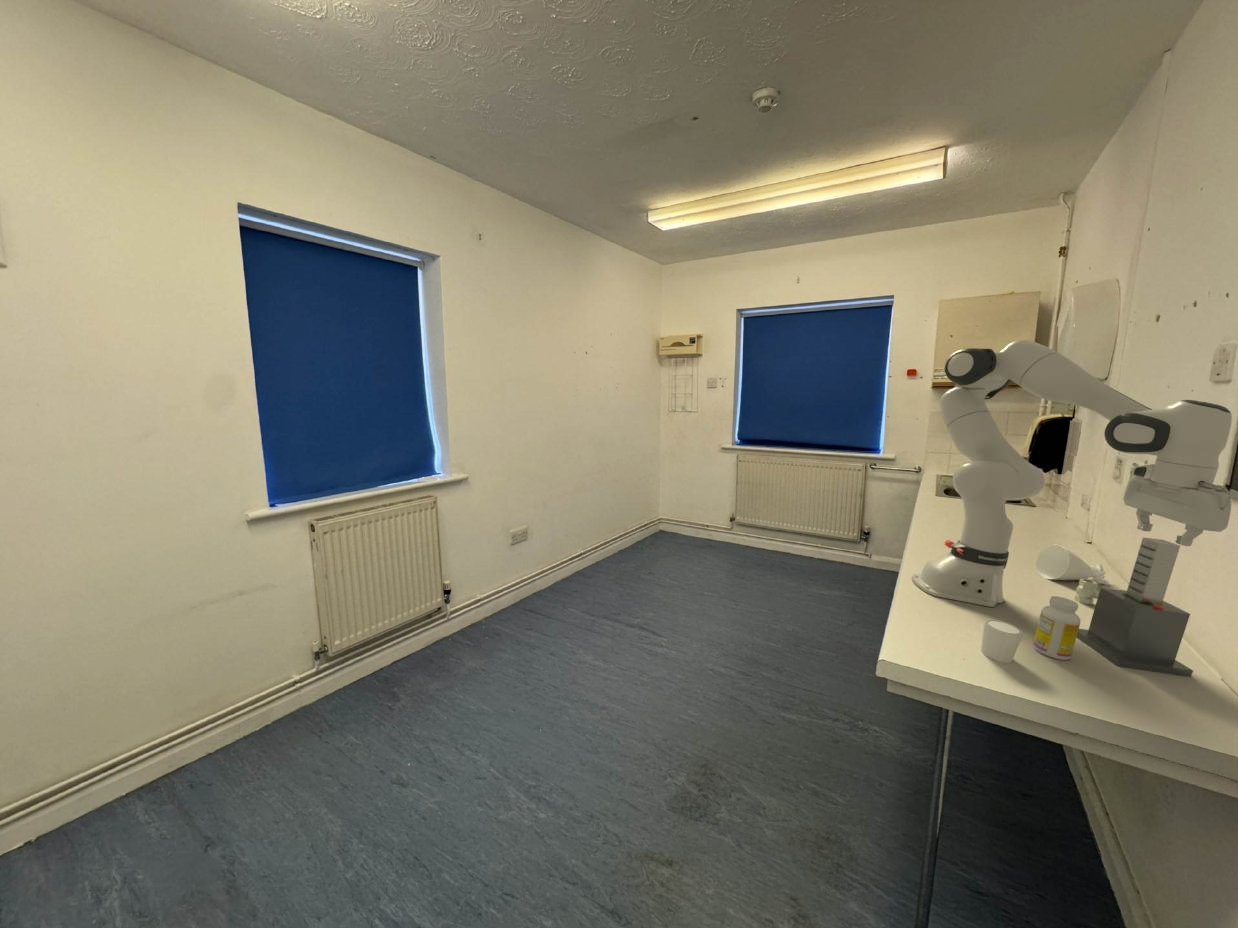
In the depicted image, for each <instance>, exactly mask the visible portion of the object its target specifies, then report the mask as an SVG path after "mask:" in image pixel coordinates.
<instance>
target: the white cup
mask: <svg viewBox="0 0 1238 928" xmlns="http://www.w3.org/2000/svg"><path fill="white" fill-rule="evenodd" d="M982 627H983V628H982V636H981V647H980V652H981V653H982V654H983V655H984V656H986V657H987V658H989V659H991V660H993V661H996V662H999V663H1004V664H1005V663H1006V664H1009V663H1012V662H1013V660H1014V657H1015V654H1016V652H1017V650H1018V647H1019V645H1020V642H1021V641H1022V638H1023V635H1024V632H1023V630H1022V629H1021V628H1018V627H1017V626H1016V625H1013V624H1011V623H1009V622H1005V621H1002V620H998V619H993V618H992V619H991V618H988V619H985V620H984V621H983V626H982Z"/></svg>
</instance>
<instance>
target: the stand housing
mask: <svg viewBox="0 0 1238 928" xmlns="http://www.w3.org/2000/svg"><path fill="white" fill-rule="evenodd" d="M1099 591H1100V592H1099V595H1098V599H1096V603H1095V606H1094V610H1093V613H1092V616H1091V620H1090V624H1089V626H1088V629H1085V628H1079V629H1078V633H1077V637H1076V639H1078V640H1080V641H1081V642H1082V643H1084V644H1086V645H1087V646H1088V647H1090V649H1093V650H1094V651H1095V652H1096V653H1098V654H1100V655H1101V656H1102V657H1104V658H1105V659H1107V660H1108V661H1109V662H1111V663H1112V664H1113V665H1115V666H1117V667H1122V668H1128V669H1134V670H1141V671H1149V672H1155V673H1161V674H1167V675H1168V674H1169V675H1177V676H1183V677H1184V676H1185V677H1189V678H1190V677H1192V676H1193V672H1194V670H1193V669H1191V668H1190V667H1188V666H1187V665H1185V664H1183V663H1182V662H1179V661H1178V660H1177V659H1176V658H1177V656H1178V651H1179V650H1180V646H1181V642H1182V640H1183V637H1184V634H1185V631H1186V628H1187V626H1188V621H1189V619H1190V617H1191V613H1189V612H1187V611H1185V610H1183V609H1181V608H1180V607H1177V606H1175V605H1173V604H1171V603H1169V602H1168V601H1167V602H1166V601H1165V600H1163V602H1162V603H1163V605H1160V604H1156V603H1154V604H1153V605H1147V604H1140V603H1138V602H1136V601H1134V600H1132V599H1131V598H1129V597H1127V596H1125V593H1126V592H1127V590H1123V589H1115V588H1109V587H1108V588H1107V587H1100V589H1099Z"/></svg>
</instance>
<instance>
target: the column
mask: <svg viewBox="0 0 1238 928" xmlns="http://www.w3.org/2000/svg"><path fill="white" fill-rule="evenodd" d="M1180 548H1181V545H1180V544H1177V543H1174V542H1172V541H1171V542H1170V541H1168V540H1166V539H1162V538H1161V539H1160V538H1151V537H1150V538H1149V537H1142V540H1141V543H1140V546H1139V549H1138V552H1137V555H1136V560H1135V563H1134V565H1133V570H1132V573H1131V576H1130V580H1129V582H1128V586H1127V589H1126V591H1127V592H1126V593H1125V596H1127V597H1129V598H1131V599H1132V600H1134V601H1136V602H1138V603H1140V604H1147V605H1153V604H1154V603H1156V604H1160V605H1163V603H1162V602H1163V601H1164V599H1165V596H1166V592H1167V589H1168V586H1169V583H1170V580H1171V576H1172V573H1173V569H1174V567H1175V564H1176V561H1177V558H1178V555H1179V551H1180Z"/></svg>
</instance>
